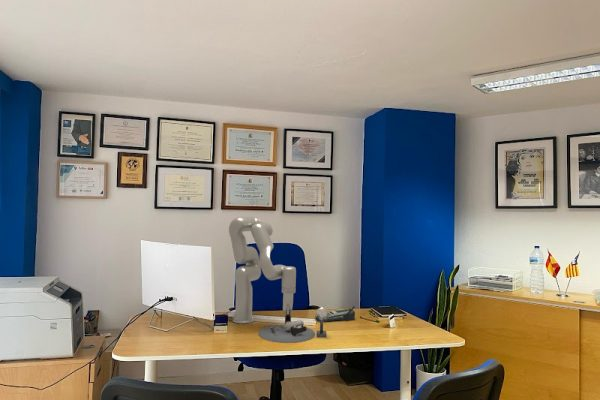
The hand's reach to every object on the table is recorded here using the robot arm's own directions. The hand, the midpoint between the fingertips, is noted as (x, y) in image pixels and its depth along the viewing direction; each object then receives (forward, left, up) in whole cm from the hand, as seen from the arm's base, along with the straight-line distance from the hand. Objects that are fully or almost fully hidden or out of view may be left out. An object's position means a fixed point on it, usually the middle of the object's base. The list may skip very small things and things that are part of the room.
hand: (287, 323), depth 219 cm
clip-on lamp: (0, -7, -3) cm, 8 cm away
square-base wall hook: (+18, -10, -3) cm, 21 cm away
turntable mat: (0, -7, -3) cm, 7 cm away
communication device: (+27, +23, -4) cm, 35 cm away
